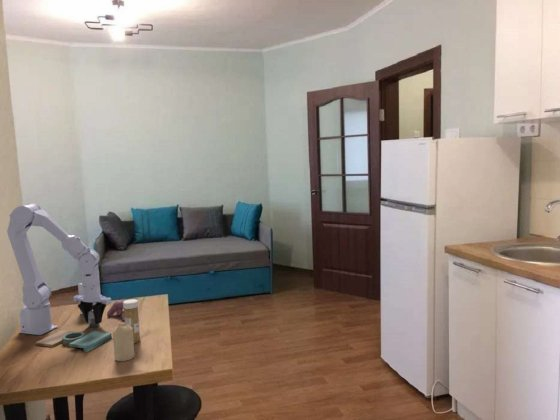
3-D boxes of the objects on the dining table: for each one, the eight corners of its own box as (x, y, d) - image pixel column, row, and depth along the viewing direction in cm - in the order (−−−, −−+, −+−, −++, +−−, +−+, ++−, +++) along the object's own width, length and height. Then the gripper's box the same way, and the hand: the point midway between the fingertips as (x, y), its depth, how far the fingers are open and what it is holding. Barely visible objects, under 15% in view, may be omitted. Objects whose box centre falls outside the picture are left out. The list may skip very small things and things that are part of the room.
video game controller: (132, 322, 170) (137, 303, 172) (122, 320, 167) (128, 301, 169) (114, 317, 176) (120, 299, 178) (105, 316, 172) (110, 297, 174)
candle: (123, 363, 133) (121, 329, 131) (110, 359, 135) (108, 326, 134) (138, 355, 137) (136, 323, 136) (126, 352, 140) (123, 320, 139)
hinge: (35, 344, 148) (34, 338, 147) (61, 332, 158) (61, 326, 158) (88, 351, 141) (87, 345, 141) (111, 338, 151) (111, 332, 151)
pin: (86, 327, 162) (85, 311, 161) (93, 324, 165) (92, 308, 164) (94, 328, 160) (93, 312, 160) (101, 325, 164) (100, 308, 163)
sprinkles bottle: (142, 341, 148) (139, 301, 146) (127, 345, 145) (125, 304, 144) (138, 337, 151) (135, 297, 150) (124, 340, 149) (121, 300, 147)
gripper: (115, 283, 162) (118, 320, 164) (82, 280, 167) (85, 317, 169) (102, 288, 156) (105, 327, 157) (67, 286, 160) (70, 323, 162)
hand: (93, 322), depth 163 cm, fingers closed on pin, 4 cm apart
